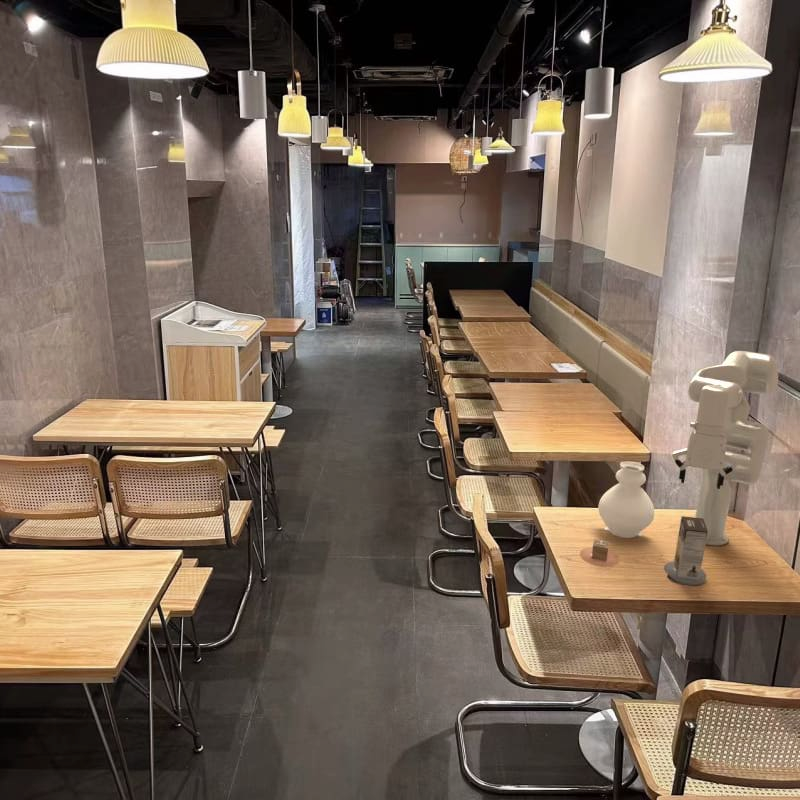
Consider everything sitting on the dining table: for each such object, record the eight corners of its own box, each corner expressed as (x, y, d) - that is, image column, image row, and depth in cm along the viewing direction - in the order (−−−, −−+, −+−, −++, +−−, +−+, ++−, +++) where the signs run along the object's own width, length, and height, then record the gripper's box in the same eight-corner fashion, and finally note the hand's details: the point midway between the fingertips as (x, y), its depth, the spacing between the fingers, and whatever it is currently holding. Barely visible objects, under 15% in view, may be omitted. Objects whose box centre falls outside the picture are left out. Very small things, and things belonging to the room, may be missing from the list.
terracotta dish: (581, 547, 225) (581, 544, 224) (620, 554, 221) (620, 551, 220) (577, 564, 214) (577, 561, 213) (617, 573, 210) (618, 569, 210)
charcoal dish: (663, 561, 217) (663, 558, 217) (704, 569, 214) (705, 566, 213) (663, 580, 207) (663, 577, 206) (706, 589, 203) (707, 585, 202)
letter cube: (592, 551, 220) (594, 538, 218) (607, 554, 218) (609, 541, 217) (591, 558, 216) (593, 544, 214) (606, 561, 214) (608, 547, 213)
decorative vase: (648, 526, 241) (658, 459, 233) (652, 551, 224) (663, 479, 217) (595, 519, 245) (603, 453, 237) (595, 542, 228) (604, 472, 221)
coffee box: (673, 562, 215) (680, 515, 210) (694, 565, 214) (703, 517, 209) (677, 577, 206) (685, 528, 202) (700, 580, 205) (709, 531, 200)
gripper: (677, 428, 196) (668, 484, 201) (744, 437, 191) (733, 494, 196) (676, 420, 203) (668, 474, 208) (741, 429, 197) (731, 484, 202)
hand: (700, 484), depth 202 cm, fingers open, 9 cm apart
